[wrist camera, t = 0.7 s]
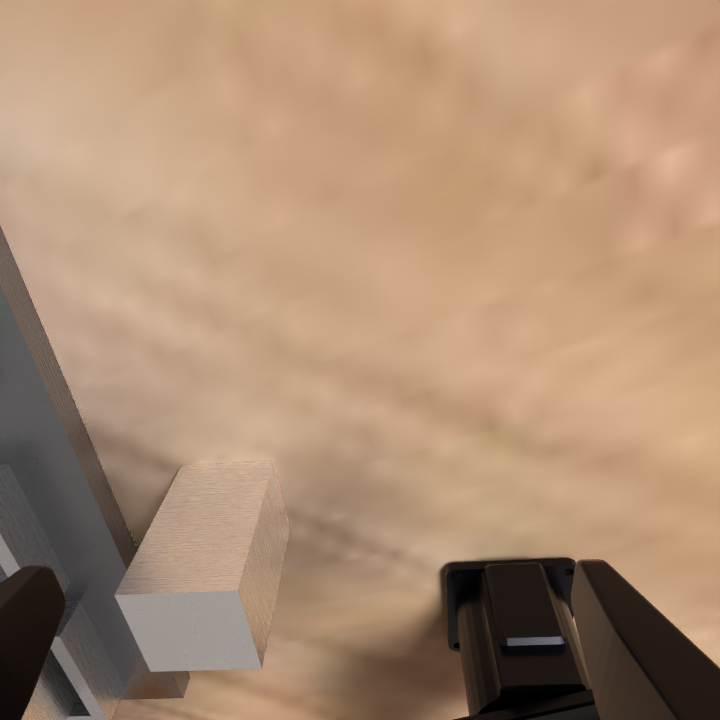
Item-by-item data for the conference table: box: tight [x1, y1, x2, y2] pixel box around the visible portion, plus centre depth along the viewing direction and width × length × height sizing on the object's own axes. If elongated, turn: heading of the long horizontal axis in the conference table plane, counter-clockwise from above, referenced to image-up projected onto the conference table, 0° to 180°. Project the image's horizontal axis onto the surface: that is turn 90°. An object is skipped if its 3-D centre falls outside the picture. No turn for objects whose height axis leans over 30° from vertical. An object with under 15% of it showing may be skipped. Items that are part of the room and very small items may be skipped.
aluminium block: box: [114, 460, 290, 672], centre depth 22 cm, size 4×4×7 cm
